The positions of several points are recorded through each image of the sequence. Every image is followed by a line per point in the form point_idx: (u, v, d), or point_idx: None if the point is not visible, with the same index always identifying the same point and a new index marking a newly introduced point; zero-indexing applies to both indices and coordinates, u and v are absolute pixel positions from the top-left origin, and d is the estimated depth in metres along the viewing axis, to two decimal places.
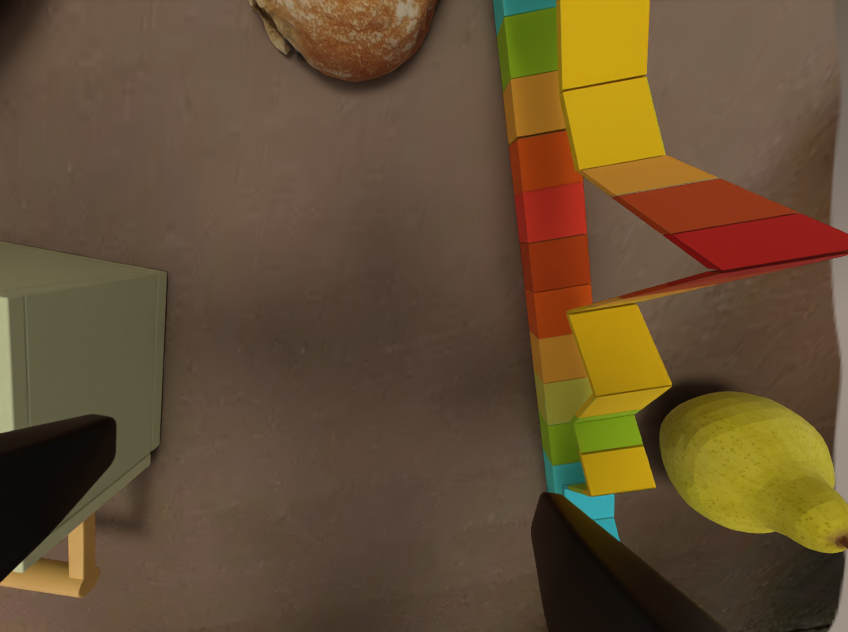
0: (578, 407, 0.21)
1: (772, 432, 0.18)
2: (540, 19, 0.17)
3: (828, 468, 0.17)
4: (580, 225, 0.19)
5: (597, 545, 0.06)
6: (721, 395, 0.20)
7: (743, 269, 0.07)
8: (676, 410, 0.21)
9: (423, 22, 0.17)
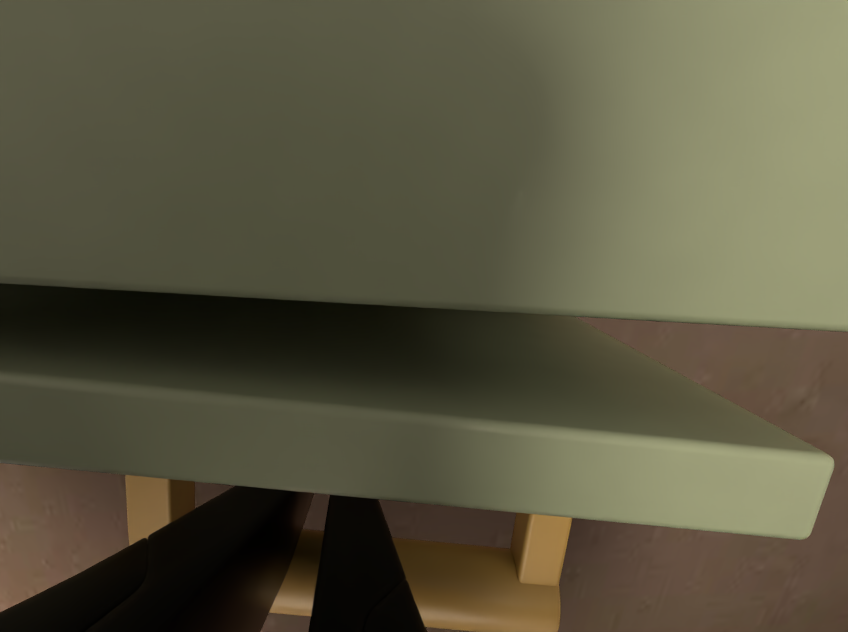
0: None
1: None
2: None
3: None
4: None
5: (345, 503, 0.06)
6: None
7: None
8: None
9: None
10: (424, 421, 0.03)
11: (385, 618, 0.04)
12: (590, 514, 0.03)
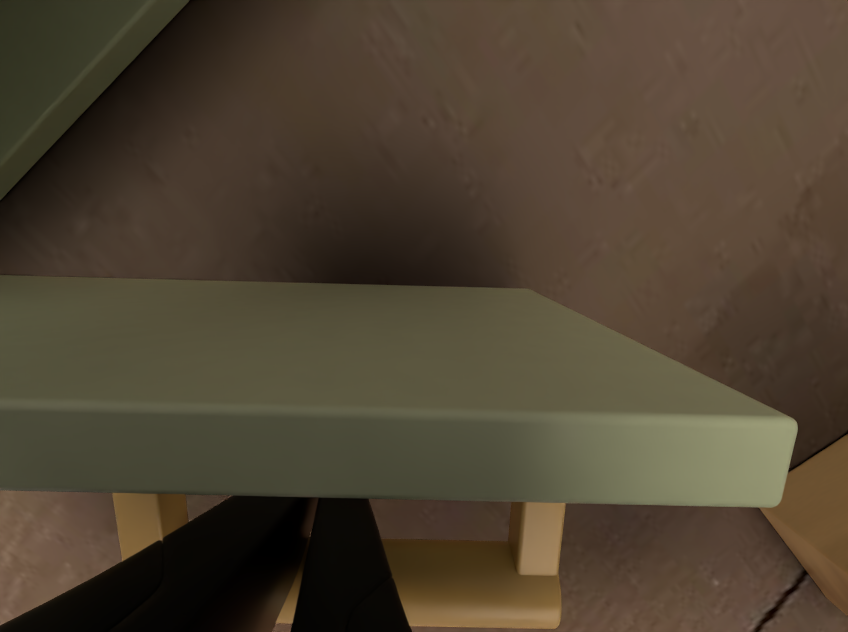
0: None
1: None
2: None
3: None
4: None
5: (334, 501, 0.06)
6: None
7: None
8: None
9: None
10: (372, 414, 0.03)
11: (369, 615, 0.04)
12: (553, 498, 0.03)
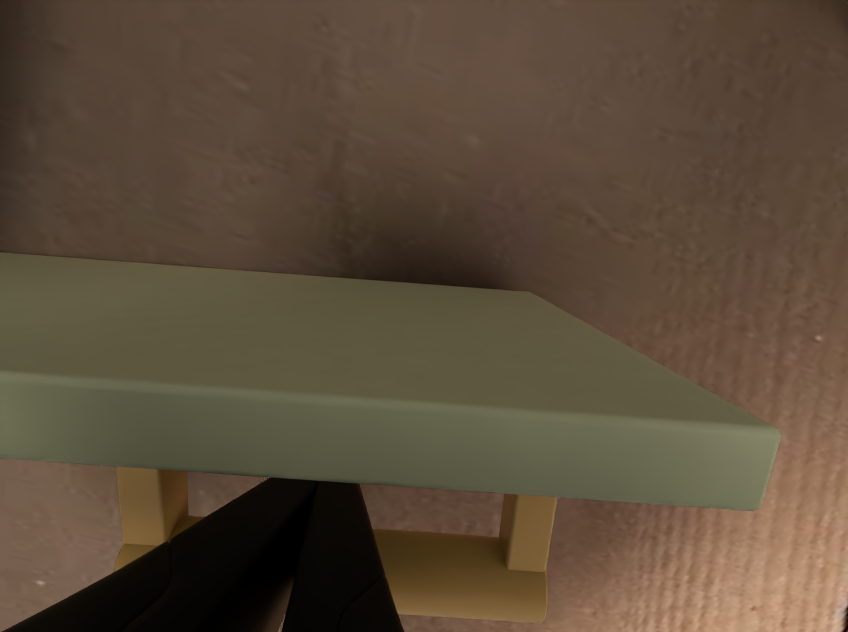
0: None
1: None
2: None
3: None
4: None
5: (328, 500, 0.06)
6: None
7: None
8: None
9: None
10: (381, 405, 0.03)
11: (361, 614, 0.04)
12: (547, 491, 0.03)
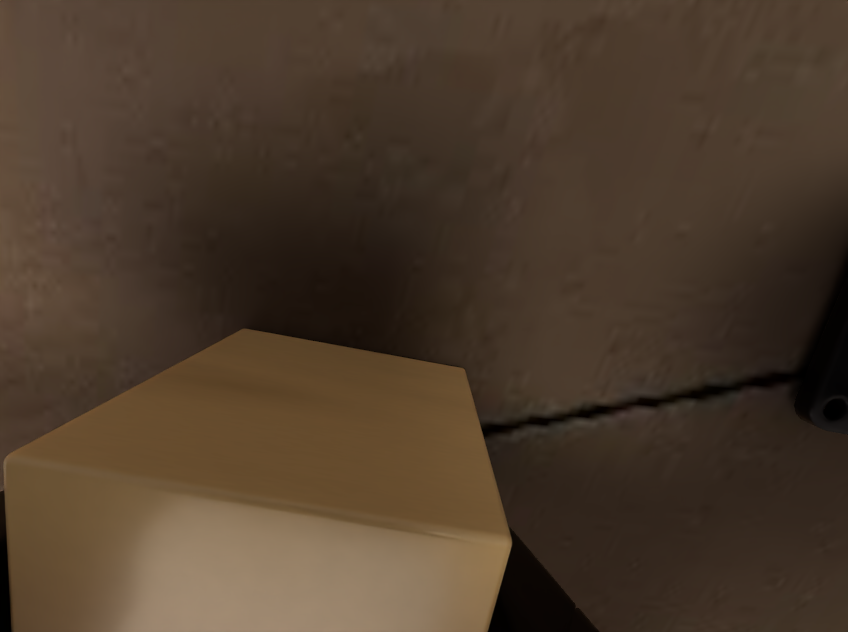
0: None
1: None
2: None
3: None
4: None
5: None
6: None
7: None
8: None
9: None
10: None
11: None
12: None
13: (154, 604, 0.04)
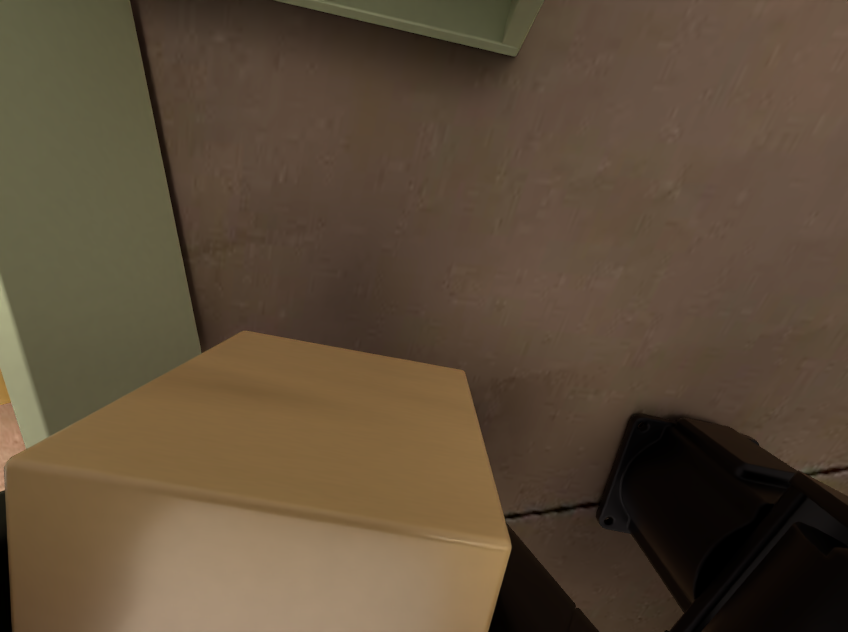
0: None
1: None
2: None
3: None
4: None
5: None
6: None
7: None
8: None
9: None
10: (18, 341, 0.11)
11: None
12: (9, 392, 0.11)
13: (155, 608, 0.04)
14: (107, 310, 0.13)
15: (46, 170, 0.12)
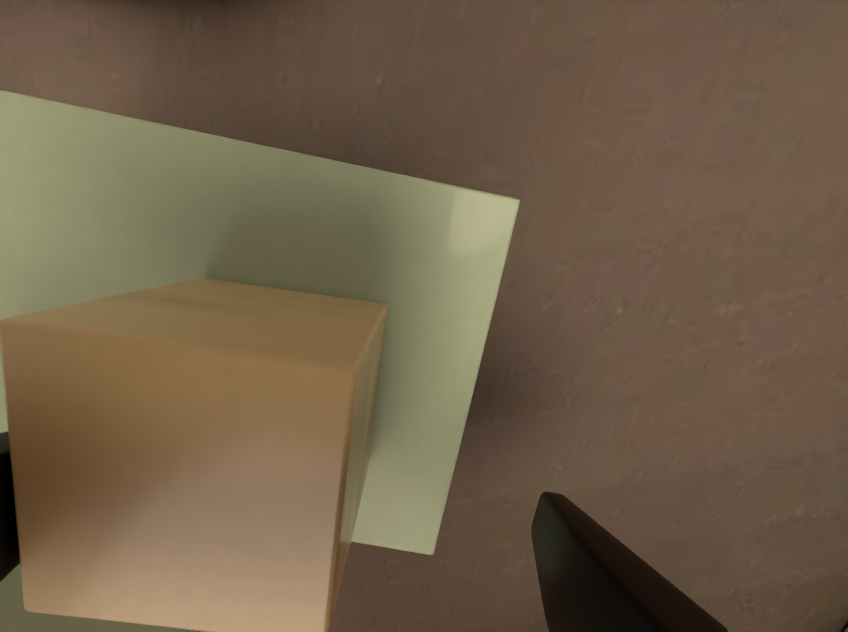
0: None
1: None
2: None
3: None
4: None
5: (597, 545, 0.06)
6: None
7: None
8: None
9: None
10: None
11: None
12: None
13: (109, 428, 0.06)
14: None
15: (63, 618, 0.16)
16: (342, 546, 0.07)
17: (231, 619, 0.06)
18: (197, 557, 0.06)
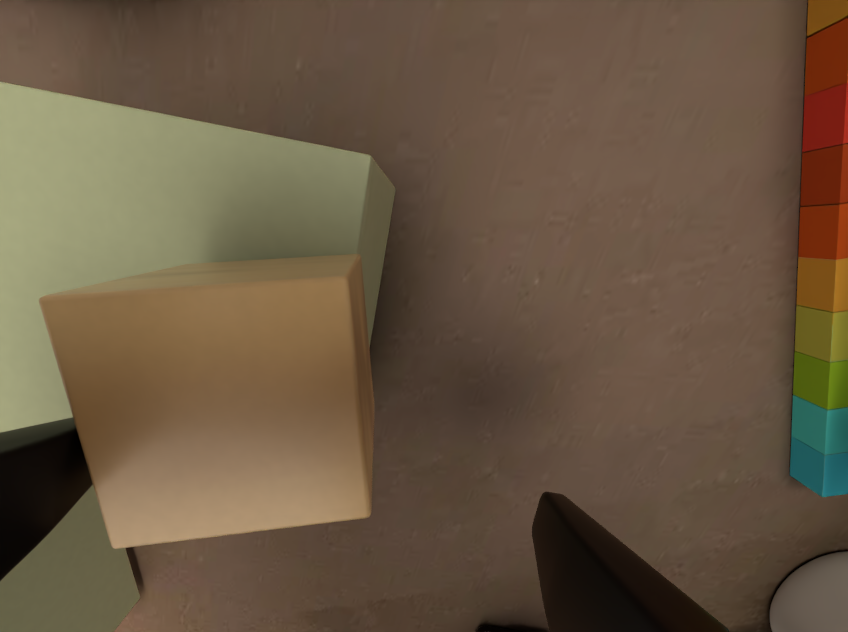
0: None
1: None
2: None
3: None
4: None
5: (598, 545, 0.06)
6: None
7: None
8: None
9: None
10: None
11: None
12: None
13: (153, 371, 0.07)
14: (52, 627, 0.19)
15: None
16: (366, 440, 0.08)
17: (288, 513, 0.08)
18: (249, 467, 0.07)
